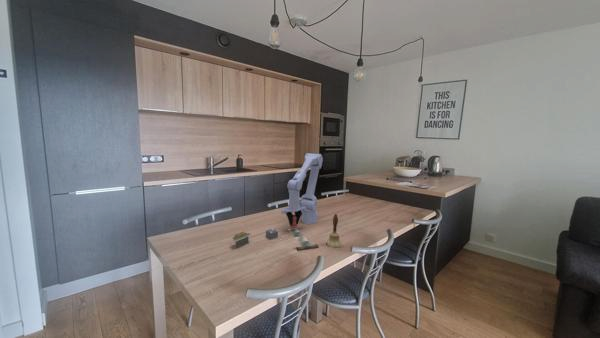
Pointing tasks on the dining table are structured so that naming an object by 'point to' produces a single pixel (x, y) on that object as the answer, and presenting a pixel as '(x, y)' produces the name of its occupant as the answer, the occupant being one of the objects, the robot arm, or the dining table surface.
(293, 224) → the pawn
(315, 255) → the dining table surface
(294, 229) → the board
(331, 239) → the hand bell
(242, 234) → the potted plant
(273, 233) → the die
